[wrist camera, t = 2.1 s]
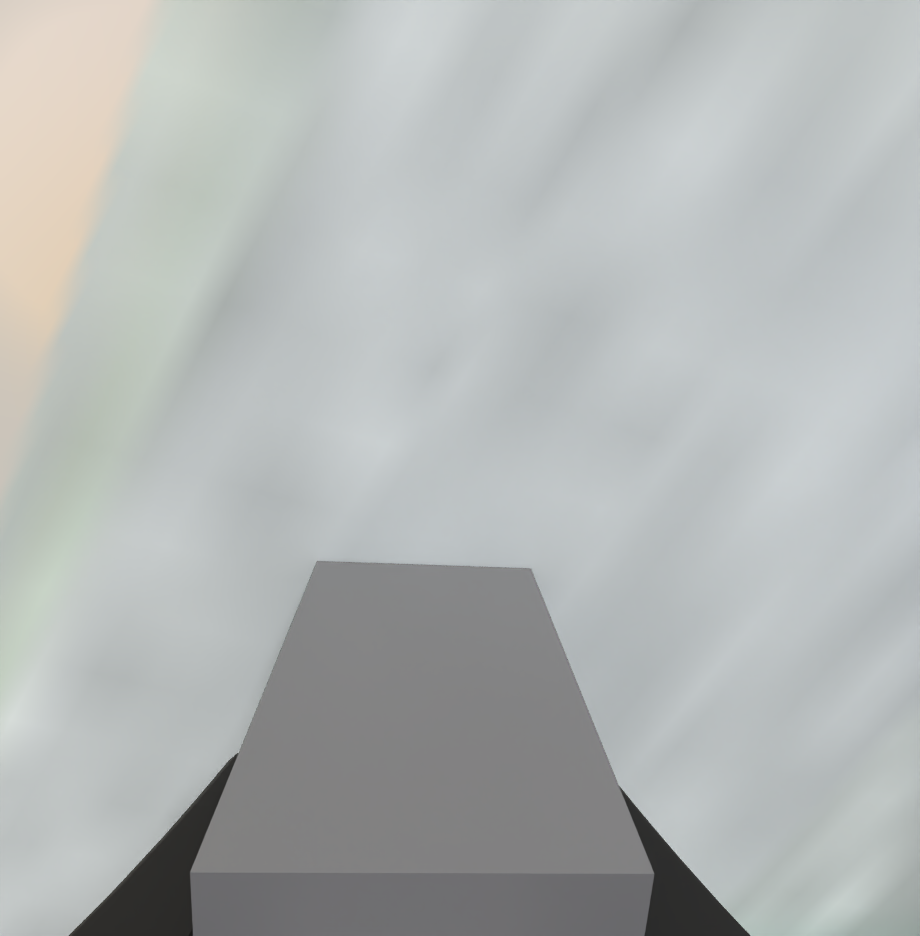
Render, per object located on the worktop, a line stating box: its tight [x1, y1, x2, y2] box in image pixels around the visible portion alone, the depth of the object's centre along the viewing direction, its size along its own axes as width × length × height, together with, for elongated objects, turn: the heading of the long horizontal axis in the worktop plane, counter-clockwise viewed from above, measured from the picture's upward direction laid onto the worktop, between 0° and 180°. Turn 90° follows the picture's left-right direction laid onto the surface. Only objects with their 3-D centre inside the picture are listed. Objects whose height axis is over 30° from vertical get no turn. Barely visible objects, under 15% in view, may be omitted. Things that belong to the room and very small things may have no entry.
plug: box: [190, 561, 654, 936], centre depth 9 cm, size 4×6×6 cm, turn 177°
